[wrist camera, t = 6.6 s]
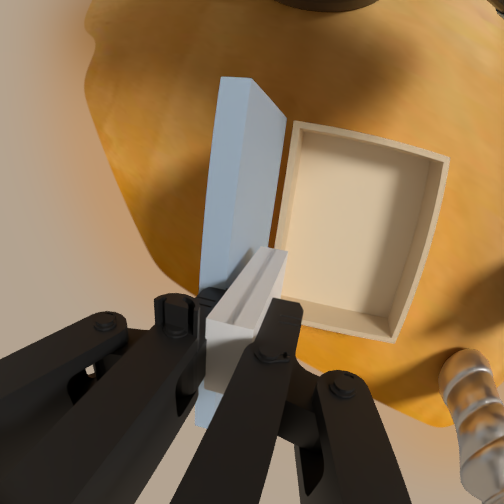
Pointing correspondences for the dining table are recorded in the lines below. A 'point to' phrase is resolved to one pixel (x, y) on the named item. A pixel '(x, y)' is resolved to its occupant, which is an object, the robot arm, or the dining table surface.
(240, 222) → the lid
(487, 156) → the dining table surface
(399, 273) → the base
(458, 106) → the dining table surface
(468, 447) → the plastic bottle
